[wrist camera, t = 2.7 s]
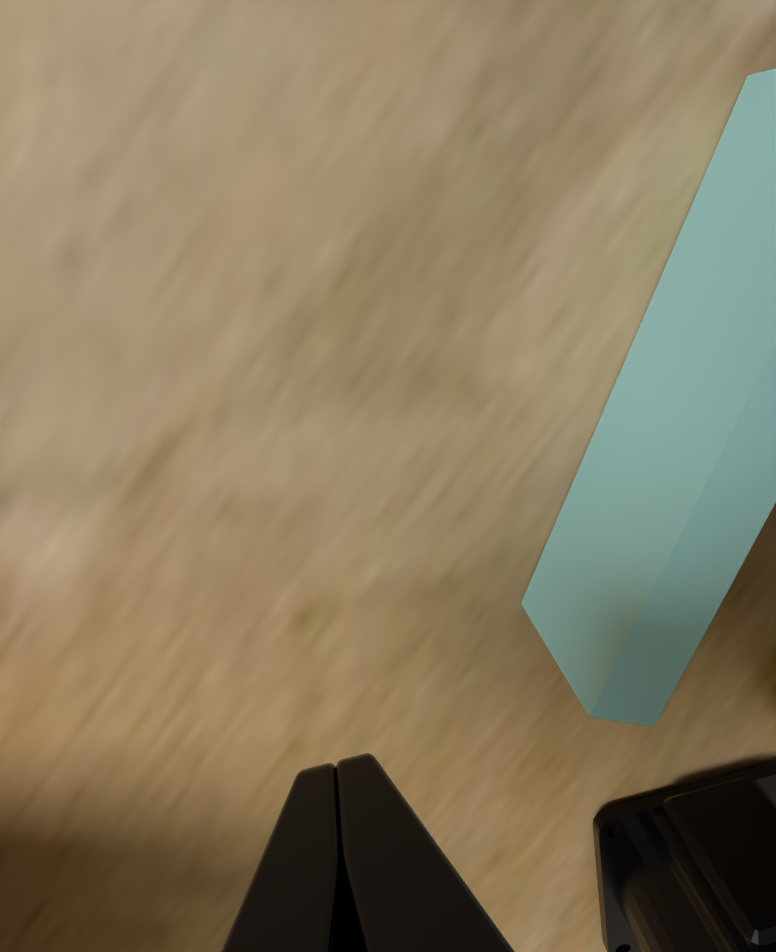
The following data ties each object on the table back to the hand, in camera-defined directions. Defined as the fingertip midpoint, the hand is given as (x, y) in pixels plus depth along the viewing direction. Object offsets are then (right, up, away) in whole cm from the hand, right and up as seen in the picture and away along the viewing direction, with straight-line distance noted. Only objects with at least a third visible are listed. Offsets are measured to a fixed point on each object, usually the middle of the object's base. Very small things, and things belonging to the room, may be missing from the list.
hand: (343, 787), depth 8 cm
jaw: (+7, +7, +7) cm, 12 cm away
